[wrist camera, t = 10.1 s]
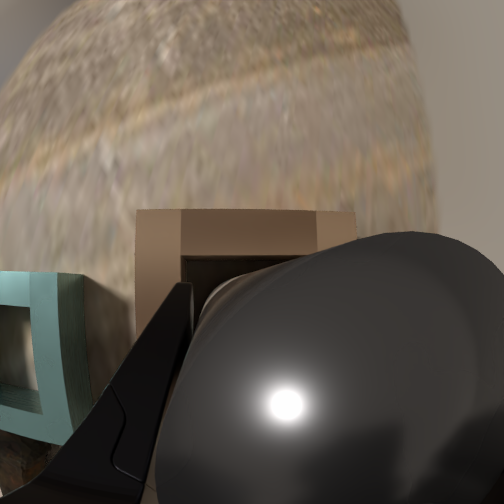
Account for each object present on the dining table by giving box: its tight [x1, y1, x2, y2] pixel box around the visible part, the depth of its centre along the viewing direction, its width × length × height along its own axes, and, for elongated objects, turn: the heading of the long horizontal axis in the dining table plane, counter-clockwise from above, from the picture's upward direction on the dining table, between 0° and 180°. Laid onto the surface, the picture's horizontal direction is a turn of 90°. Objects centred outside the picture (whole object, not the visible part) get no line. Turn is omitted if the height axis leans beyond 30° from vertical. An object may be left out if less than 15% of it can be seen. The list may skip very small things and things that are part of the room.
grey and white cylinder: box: [155, 231, 504, 504], centre depth 8 cm, size 4×4×13 cm
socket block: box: [0, 271, 93, 446], centre depth 12 cm, size 8×8×3 cm
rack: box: [135, 209, 357, 339], centre depth 14 cm, size 9×9×3 cm
